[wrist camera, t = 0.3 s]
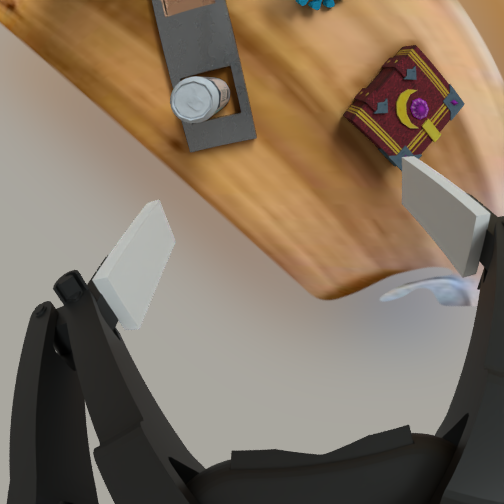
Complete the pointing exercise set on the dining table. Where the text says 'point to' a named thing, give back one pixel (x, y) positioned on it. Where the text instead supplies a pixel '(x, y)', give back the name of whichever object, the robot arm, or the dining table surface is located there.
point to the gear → (316, 3)
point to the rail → (204, 63)
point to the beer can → (199, 98)
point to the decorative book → (405, 106)
